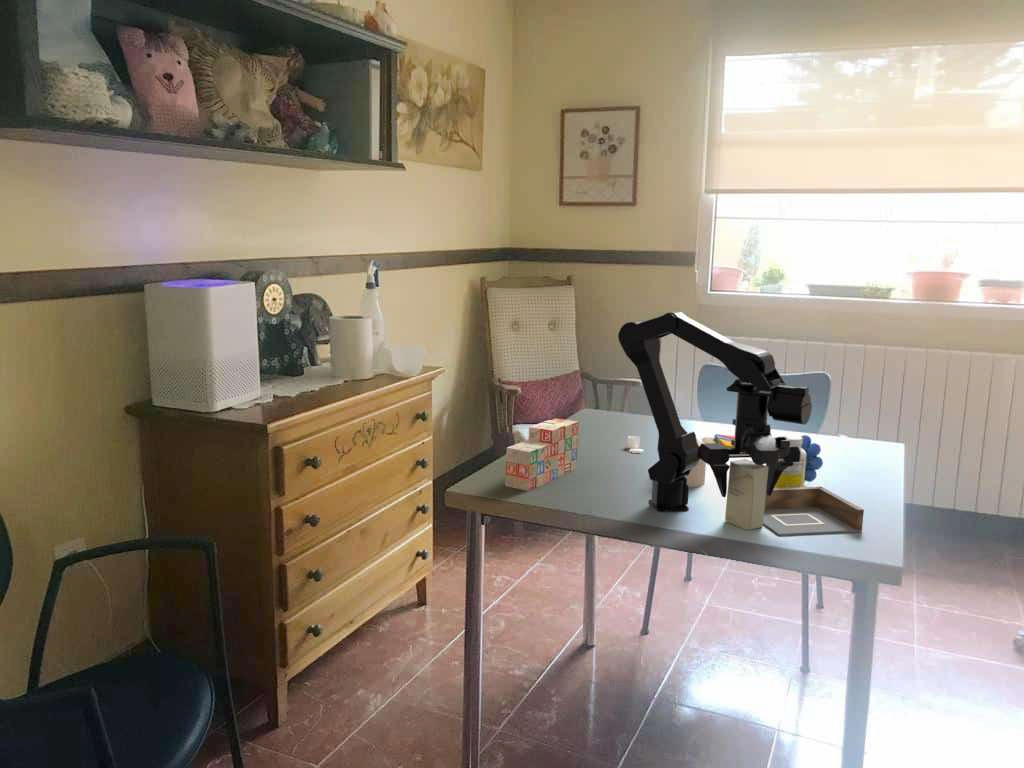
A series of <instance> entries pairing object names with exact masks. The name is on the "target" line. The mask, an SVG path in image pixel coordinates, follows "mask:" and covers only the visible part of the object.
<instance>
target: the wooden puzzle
mask: <svg viewBox="0 0 1024 768" xmlns="http://www.w3.org/2000/svg"><path fill="white" fill-rule="evenodd" d="M734 439H735V435H725V434H717V433H716V434H714V436H713V437H710V436H708V437H707V436H705V437H702V438H701V440H700V441H702V442H704V443H719V444H720V445H722V446H724V447H726V448H734V446H732V445H731V440H734ZM740 453H742V452H740Z"/></svg>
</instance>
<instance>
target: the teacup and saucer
mask: <svg viewBox="0 0 1024 768" xmlns="http://www.w3.org/2000/svg"><path fill="white" fill-rule="evenodd" d="M640 441H641V437H640V436H637V435H628V436H627V446H628V452H629V453H631V452H632V453H631V454H636V453H640V454H643V453H645V452H644V449H642V448H640V444H641V442H640ZM629 448H630V449H629ZM638 448H639V449H638ZM642 452H643V453H642Z"/></svg>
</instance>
